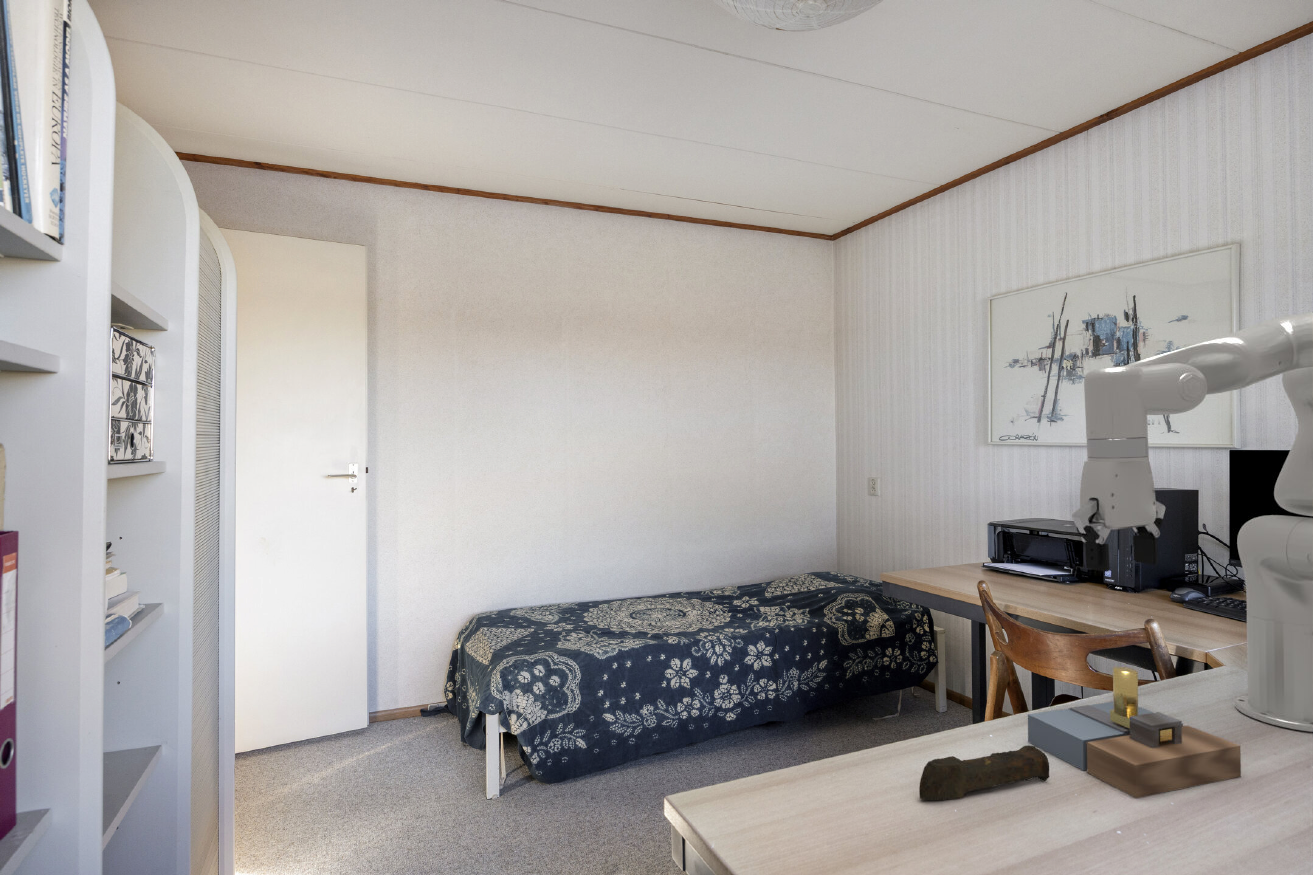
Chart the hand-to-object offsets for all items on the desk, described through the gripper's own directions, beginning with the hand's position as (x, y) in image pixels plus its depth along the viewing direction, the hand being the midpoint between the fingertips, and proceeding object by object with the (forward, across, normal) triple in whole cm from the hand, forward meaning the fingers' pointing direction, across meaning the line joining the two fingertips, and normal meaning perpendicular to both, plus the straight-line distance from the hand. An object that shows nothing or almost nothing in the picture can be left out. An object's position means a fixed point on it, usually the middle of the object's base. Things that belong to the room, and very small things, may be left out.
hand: (1122, 566), depth 99 cm
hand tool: (+24, +32, +5) cm, 40 cm away
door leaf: (+25, +7, +1) cm, 26 cm away
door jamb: (+25, +7, +10) cm, 28 cm away
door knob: (+20, +7, +7) cm, 22 cm away
